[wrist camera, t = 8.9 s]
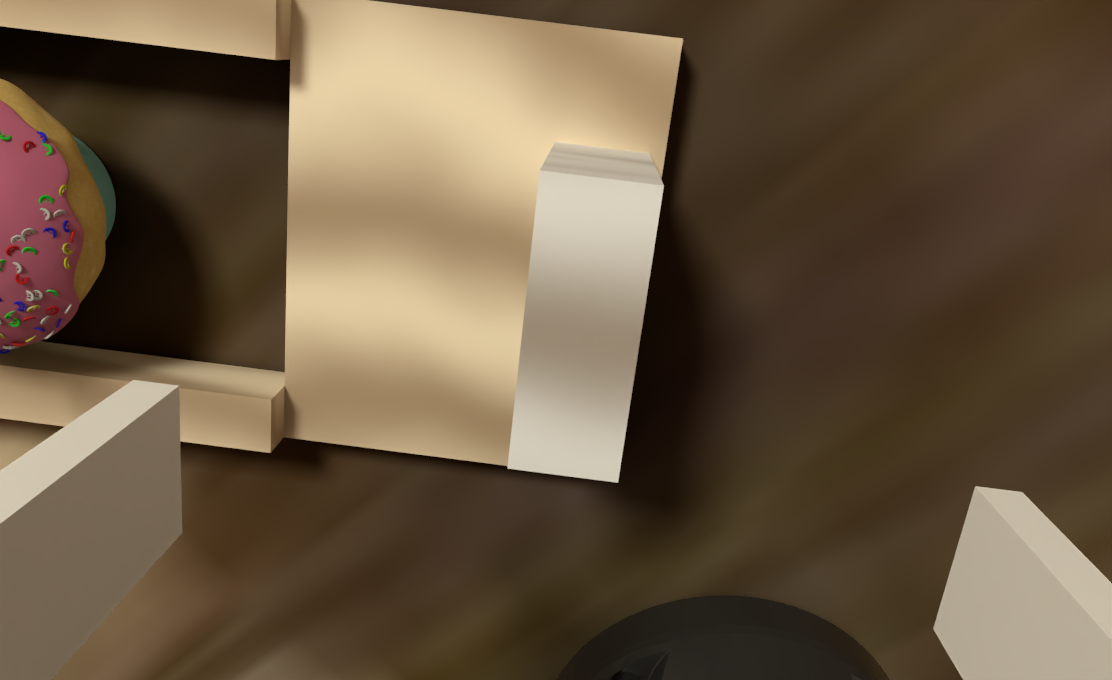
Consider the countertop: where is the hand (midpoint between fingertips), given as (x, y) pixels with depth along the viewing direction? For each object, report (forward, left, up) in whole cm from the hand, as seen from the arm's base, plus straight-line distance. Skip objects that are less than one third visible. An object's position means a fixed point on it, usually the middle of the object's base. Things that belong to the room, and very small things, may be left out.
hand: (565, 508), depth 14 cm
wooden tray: (0, +11, -17) cm, 20 cm away
